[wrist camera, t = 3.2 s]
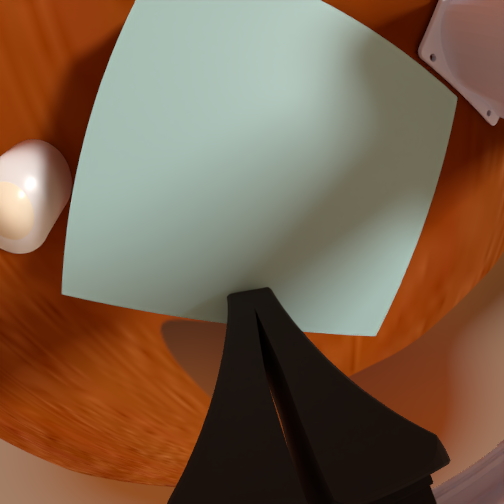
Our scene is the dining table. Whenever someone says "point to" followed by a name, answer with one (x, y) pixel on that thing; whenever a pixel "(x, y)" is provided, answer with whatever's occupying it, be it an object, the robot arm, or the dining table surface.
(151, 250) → the lid
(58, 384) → the dining table surface
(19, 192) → the white cylinder
